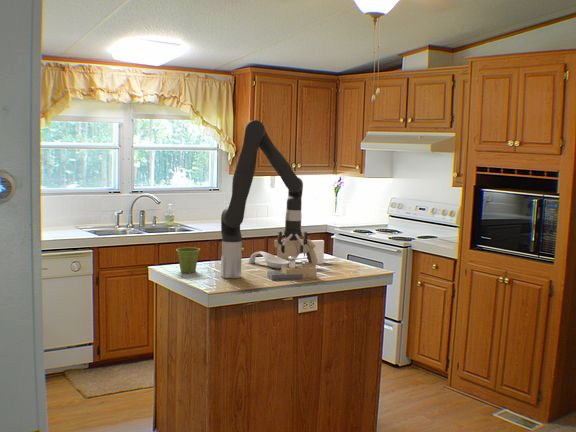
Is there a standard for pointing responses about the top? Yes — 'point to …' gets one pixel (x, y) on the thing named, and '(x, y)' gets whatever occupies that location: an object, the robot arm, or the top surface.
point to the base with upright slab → (319, 250)
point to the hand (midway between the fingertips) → (291, 253)
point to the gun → (297, 251)
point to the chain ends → (294, 273)
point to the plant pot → (188, 259)
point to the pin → (292, 261)
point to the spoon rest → (270, 260)
